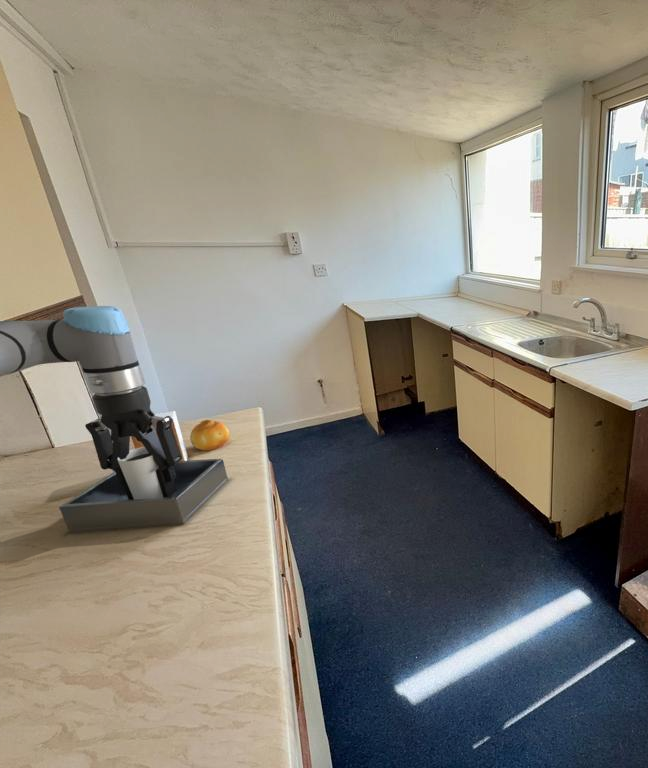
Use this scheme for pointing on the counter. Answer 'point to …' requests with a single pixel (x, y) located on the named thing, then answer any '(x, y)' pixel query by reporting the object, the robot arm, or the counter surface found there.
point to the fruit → (209, 435)
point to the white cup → (141, 474)
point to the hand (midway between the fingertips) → (153, 495)
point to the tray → (145, 500)
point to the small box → (175, 429)
